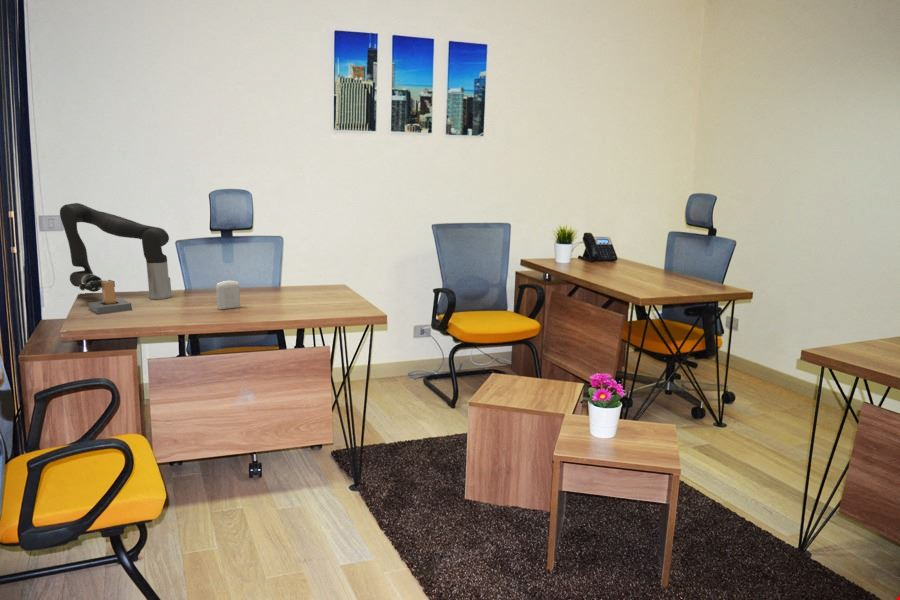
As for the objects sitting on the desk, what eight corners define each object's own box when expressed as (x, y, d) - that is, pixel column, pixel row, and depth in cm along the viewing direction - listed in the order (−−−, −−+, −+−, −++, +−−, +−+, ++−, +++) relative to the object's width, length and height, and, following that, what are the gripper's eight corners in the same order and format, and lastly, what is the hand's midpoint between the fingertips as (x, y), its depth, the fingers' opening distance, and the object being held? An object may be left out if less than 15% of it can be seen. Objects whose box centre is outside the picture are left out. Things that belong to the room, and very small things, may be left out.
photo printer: (239, 305, 326) (237, 278, 323) (242, 307, 322) (240, 280, 320) (216, 308, 320) (214, 281, 318) (218, 310, 317) (216, 282, 314)
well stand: (122, 305, 329) (121, 298, 328) (131, 309, 319) (131, 303, 318) (89, 309, 320) (88, 302, 320) (97, 314, 310) (97, 307, 309)
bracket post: (113, 307, 322) (110, 280, 320) (116, 308, 319) (113, 282, 316) (103, 308, 320) (101, 281, 317) (106, 310, 316) (104, 283, 314)
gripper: (74, 276, 333) (83, 280, 321) (106, 272, 342) (117, 277, 330) (75, 292, 334) (85, 297, 322) (108, 288, 343) (118, 293, 331)
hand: (101, 287), depth 326 cm, fingers open, 8 cm apart
